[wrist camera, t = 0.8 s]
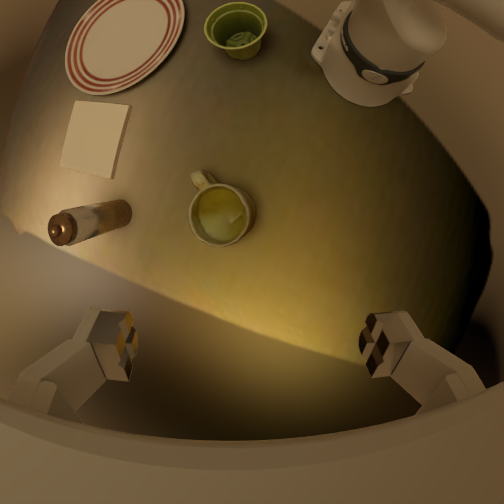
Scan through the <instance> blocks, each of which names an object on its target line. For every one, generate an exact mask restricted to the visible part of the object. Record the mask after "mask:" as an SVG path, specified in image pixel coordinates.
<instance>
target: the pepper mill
mask: <svg viewBox="0 0 504 504" xmlns="http://www.w3.org/2000/svg"><path fill="white" fill-rule="evenodd" d="M131 217H132V210H131V207H130V205H129V204H128V203H127V202H126V201H124V200H120V199H119V200H113V201H108V202H102V203H96V204H91V205H86V206H81V207H76V208H71V209H66V210H62V211H61V212H59V214H56V215H54V216H52V217H51V219H50V220H49V223H48V233H49V236H50V239H51V240H52V242H53V243H54V244H55V245H57V246H63V245H68V246H70V245H73V244H76V243H79V242H82V241H84V240H87V239H90V238H92V237H95V236H98V235H101V234H104V233H106V232H109V231H112V230H115V229H118V228H121V227H124V226H126V225H127V224H128V223H129V222H130V220H131Z"/></svg>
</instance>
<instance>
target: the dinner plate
mask: <svg viewBox="0 0 504 504" xmlns="http://www.w3.org/2000/svg"><path fill="white" fill-rule="evenodd" d="M184 16H185V10H184V5H183V1H182V0H98V1H97V2H96V3H95V4H94V5H92V6H91V7H90V8H89V9H88V10H87V12H86V13H85V14H84V15H83V16H82V18H81V19H80V20H79V22H78V23H77V25H76V26H75V28H74V30H73V32H72V34H71V36H70V39H69V41H68V44H67V48H66V54H65V67H66V72H67V75H68V77H69V79H70V81H71V82H72V84H73V85H74V86H75V87H76V88H78V89H79V90H80V91H82V92H85V93H87V94H91V95H106V94H112V93H115V92H118V91H121V90H124V89H126V88H128V87H130V86H132V85H134V84H136V83H137V82H139V81H140V80H142V79H143V78H145V77H146V76H147V75H149V74H150V73H151V72H152V71H153V70H155V69H156V68H157V67H158V66H159V65H160V64H161V63H162V62H163V60H164V59H165V58H166V57H167V56H168V54H169V53H170V52H171V50H172V49H173V47H174V46H175V44H176V42H177V40H178V38H179V36H180V33H181V31H182V27H183V23H184Z"/></svg>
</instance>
